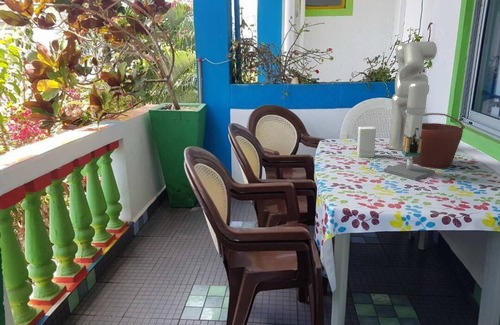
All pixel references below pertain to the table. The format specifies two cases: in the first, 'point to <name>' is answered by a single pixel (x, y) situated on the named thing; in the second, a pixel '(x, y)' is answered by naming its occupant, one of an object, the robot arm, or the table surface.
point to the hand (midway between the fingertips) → (411, 150)
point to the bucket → (438, 144)
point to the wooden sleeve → (407, 147)
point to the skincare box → (366, 141)
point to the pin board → (409, 170)
